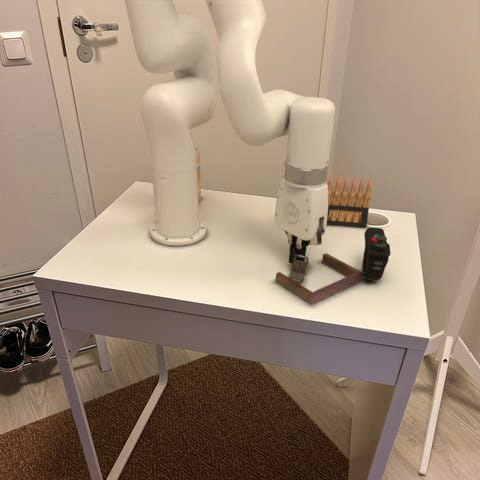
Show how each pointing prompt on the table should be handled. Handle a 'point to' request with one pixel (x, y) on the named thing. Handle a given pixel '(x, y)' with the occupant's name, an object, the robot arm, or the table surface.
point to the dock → (327, 291)
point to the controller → (375, 254)
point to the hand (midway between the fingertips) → (296, 262)
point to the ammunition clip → (349, 207)
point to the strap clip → (299, 269)
